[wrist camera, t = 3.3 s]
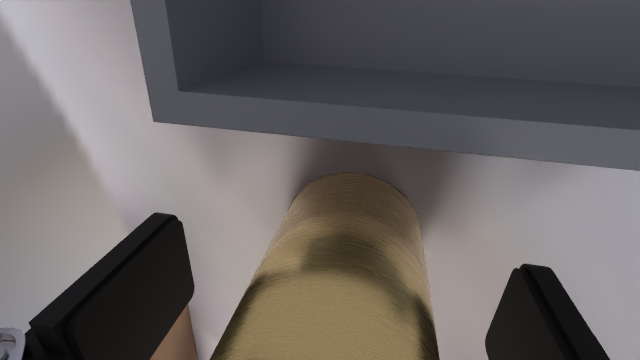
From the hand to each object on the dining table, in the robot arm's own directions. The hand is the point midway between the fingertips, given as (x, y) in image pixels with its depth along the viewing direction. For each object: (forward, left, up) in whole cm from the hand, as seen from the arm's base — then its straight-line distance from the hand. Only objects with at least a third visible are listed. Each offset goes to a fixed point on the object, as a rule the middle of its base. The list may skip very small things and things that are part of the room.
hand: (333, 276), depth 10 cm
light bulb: (-1, 0, -3) cm, 3 cm away
